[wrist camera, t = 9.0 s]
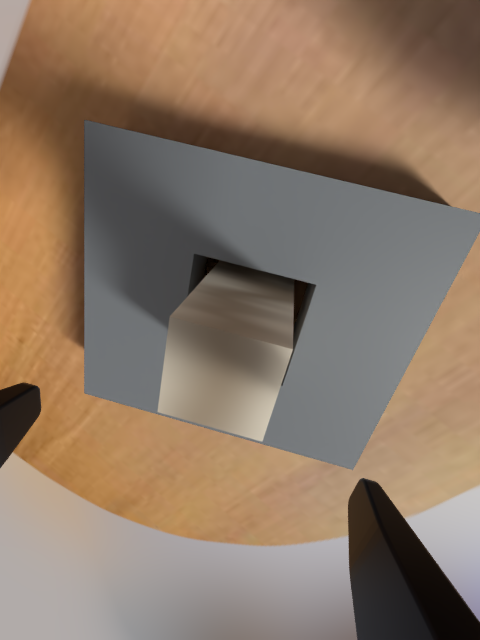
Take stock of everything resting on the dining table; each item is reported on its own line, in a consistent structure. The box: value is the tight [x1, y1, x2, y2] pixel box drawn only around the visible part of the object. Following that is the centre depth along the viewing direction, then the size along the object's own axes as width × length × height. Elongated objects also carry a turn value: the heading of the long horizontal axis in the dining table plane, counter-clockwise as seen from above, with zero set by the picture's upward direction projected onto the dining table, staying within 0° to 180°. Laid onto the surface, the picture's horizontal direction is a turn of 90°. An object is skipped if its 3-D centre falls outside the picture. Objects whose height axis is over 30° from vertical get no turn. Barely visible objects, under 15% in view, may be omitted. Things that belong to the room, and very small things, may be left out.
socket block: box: [84, 120, 480, 470], centre depth 17 cm, size 16×14×3 cm
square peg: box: [158, 260, 294, 442], centre depth 15 cm, size 4×4×8 cm
